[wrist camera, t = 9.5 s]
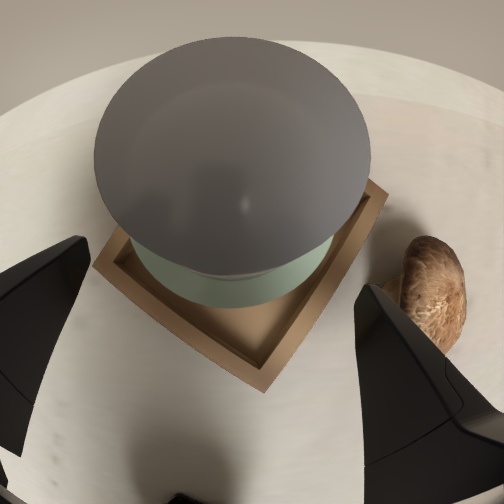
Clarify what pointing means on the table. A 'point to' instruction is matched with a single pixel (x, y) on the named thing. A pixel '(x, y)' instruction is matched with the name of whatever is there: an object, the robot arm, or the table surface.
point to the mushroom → (431, 290)
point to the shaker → (232, 167)
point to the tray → (248, 318)
